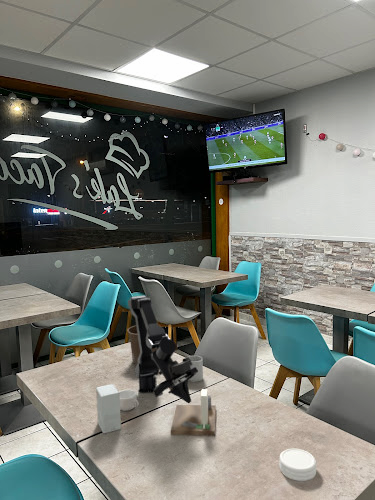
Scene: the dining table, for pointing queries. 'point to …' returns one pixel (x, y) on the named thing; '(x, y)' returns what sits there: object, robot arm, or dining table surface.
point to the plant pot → (135, 343)
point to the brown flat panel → (192, 421)
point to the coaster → (297, 464)
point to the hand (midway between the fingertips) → (190, 402)
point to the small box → (108, 408)
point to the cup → (197, 363)
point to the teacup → (128, 399)
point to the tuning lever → (205, 406)
